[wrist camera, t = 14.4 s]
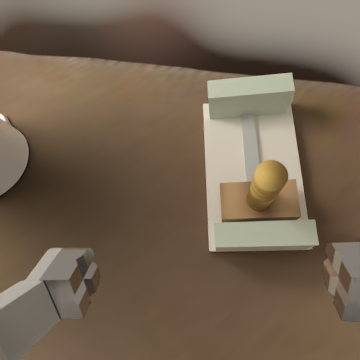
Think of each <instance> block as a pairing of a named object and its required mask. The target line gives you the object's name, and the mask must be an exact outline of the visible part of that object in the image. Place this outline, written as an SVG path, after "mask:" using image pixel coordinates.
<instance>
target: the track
mask: <svg viewBox="0 0 360 360" xmlns="http://www.w3.org/2000/svg"><path fill="white" fill-rule="evenodd" d="M207 84H208V102H209V104H203V114H204V139H205V163H206V187H207V212H208V236H209V252H227V251H276V250H310V249H313V248H312V247H314V246H318V245H319V242H318V235H317V229H316V222H315V219H314V220H308V215H307V208H306V201H305V195H304V188H303V181H302V175H301V168H300V161H299V155H298V148H297V141H296V135H295V128H294V121H293V115H292V108H291V103H292V102H293V99H294V91H295V89H294V83H293V77H292V73H285V74H284V73H283V74H274V75H263V76H252V77H242V78H232V79H221V80H211V81H207ZM266 160H275V161H278V162H280V163H282V164H283V165H284V166H285V167H286V169H287V171H288V180H289V179H296V183H297V190H298V197H299V204H300V211H301V217H300V218H298V219H297V220H283V221H253V222H223V223H222V217H221V199H220V183H230V182H249V181H252V179H253V176H254V173H255V170H256V168H257V166H258V165H259V164H260V163H262V162H263V161H266Z"/></svg>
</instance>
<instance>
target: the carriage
mask: <svg viewBox="0 0 360 360" xmlns="http://www.w3.org/2000/svg"><path fill="white" fill-rule="evenodd" d="M220 199H221V217H222V223H223V222H253V221H283V220H297V219H298V218H300V217H301V211H300V204H299V197H298V190H297V183H296V179H289V180H288V171H287V169H286V167H285V166H284V165H283V164H282V163H280V162H278V161H275V160H266V161H263V162H262V163H260V164H259V165H258V166H257V168H256V170H255V173H254V176H253V179H252V181H249V182H230V183H220Z"/></svg>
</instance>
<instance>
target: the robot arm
mask: <svg viewBox="0 0 360 360" xmlns="http://www.w3.org/2000/svg"><path fill="white" fill-rule="evenodd" d="M28 156H29V148H28V143H27V141H26V139H25V137H24V135H23V134H22V133H21V132H20V131H19V130H17V129H15V128H14V127H13V126H11V124H10V122H9V120H8V119H7V117H6V116H4V115H2V114H0V195H2V194H3V193H5V192H6V191H7V190H9V189H10V188H11V187H12V186H13V185H14V184H15V183H16V182H17V181H18V180H19V178H20V177H21V175H22V174H23V172H24V170H25V168H26V165H27V162H28ZM325 253H326V255H327V257H328V258H327V259H326V260H325V261H324V262H323V269H322V271H323V279H324V283H325V286H326V288H327V290H328V292H330V293H331V294H332V295H334V301H333V303H334V306H335V308H336V310H337V312H338V314H339V316H340V318H341V321H343V322H360V241H352V242H328V243H327V245H326V248H325ZM94 257H95V256H94V253H93V250H92V249H91V248H51V249H49V250H47V252H46V253H45V254H44V256H43V257H42V258H41V260H40V261H39V262H38V264H37V265H36V266H35V268H34V269H33V270H32V272H31V273H30V274H29V276H28V277H27V278H26V280H25V281H20V282H18V283H16V284H15V285H13V286H12V287H10V288H8V289H7V290H5V291H4V292H2V293H0V360H20V359H21V358H22V357H23V356H24V355H25V354H26V353H27V352H28V351H29V350H30V349H31V348H32V347H33V346H34V345H35V344H37V343H38V342H39V341H40V340H41V339H42V338H43V337H44V336H45V335H46V334H47V333H48V332H49V331H50V330H51V329H52V328H53V327H54V326H55V325H56V324H57V323H58V322H59V321H60V319H84V317H85V315H86V313H87V310H88V308H89V306H90V304H91V300H90V296H91V295H92V294H94V293H95V292H96V290H97V287H98V285H99V278H100V274H99V268H98V265H96V264H95V263H94V262H93V259H94Z"/></svg>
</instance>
